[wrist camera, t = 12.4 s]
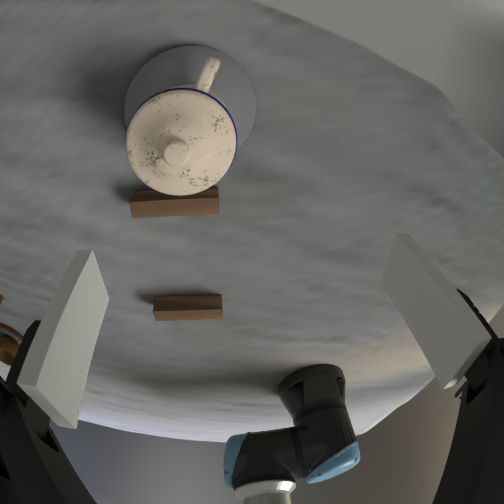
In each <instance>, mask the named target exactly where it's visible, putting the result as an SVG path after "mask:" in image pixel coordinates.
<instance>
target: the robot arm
mask: <svg viewBox="0 0 504 504" xmlns="http://www.w3.org/2000/svg"><path fill="white" fill-rule="evenodd" d="M381 282H382V284H383V286H384V287H385V289H386V290H387V292H388V293H389V295H390V297H391V298H392V300H393V301H394V303H395V305H396V306H397V308H398V310H399V311H400V313H401V315H402V316H403V318H404V320H405V321H406V323H407V325H408V326H409V328H410V330H411V331H412V333H413V335H414V337H415V338H416V340H417V342H418V344H419V345H420V347H421V349H422V351H423V353H424V354H425V356H426V358H427V360H428V362H429V364H430V365H431V367H432V369H433V371H434V373H435V375H436V377H437V379H438V381H439V383H440V385H441V386H442V388H443V389H446V388H448V387H451V386H453V385H455V384H457V383H458V382H459V381H460V379H461V378H462V377H463V376H464V375H465V377H466V379H467V381H466V382H465V383H464V384H463V385H462V387H461V388H460V389H459V390H458V391H457V392H456V394H455V397H457V396H458V395H459V394H460V393H461V392H462V391H463V392H462V396H461V397H460V398H459V399H461V404H460V409H459V414H458V419H457V423H456V428H455V432H454V436H453V440H452V444H451V448H450V452H449V455H448V459H447V462H446V466H445V469H444V472H443V475H442V478H441V481H440V484H439V487H438V490H437V493H436V495H435V498H434V501H433V503H432V504H504V338H500V339H499V338H498V337H497V335H496V334H495V333H494V331H493V330H492V328H491V327H490V325H489V324H488V323H487V321H486V320H485V318H484V317H483V316H482V314H481V313H479V310H478V309H477V308H476V306H475V307H474V304H473V303H472V301H471V300H470V299H469V297H468V296H467V295H465V294H464V293H463V292H462V291H460V290H459V289H456V288H455V287H454V286H453V285H452V283H451V282H450V281H449V280H448V279H447V277H446V276H445V275H444V274H443V272H442V271H441V270H440V269H439V268H438V267H437V265H436V264H435V263H434V262H433V261H432V260H431V258H430V257H429V256H428V255H427V254H426V253H425V252H424V250H423V249H422V248H421V247H420V246H419V245H418V244H417V243H416V241H415V240H414V239H413V238H412V237H411V236H410V235H409V234H408V233H395V234H394V238H393V241H392V245H391V248H390V252H389V255H388V259H387V262H386V265H385V268H384V272H383V275H382V278H381ZM108 302H109V297H108V294H107V291H106V288H105V285H104V283H103V280H102V277H101V274H100V271H99V268H98V265H97V262H96V258H95V255H94V252H93V250H81V251H77V253H76V254H75V256H74V258H73V260H72V261H71V263H70V265H69V267H68V269H67V270H66V272H65V274H64V276H63V278H62V280H61V282H60V284H59V286H58V288H57V290H56V291H55V293H54V295H53V297H52V300H51V302H50V304H49V306H48V308H47V310H46V312H45V314H44V316H43V319H42V321H40V320H35V321H34V322H33V323H32V324H31V326H30V327H29V328H28V329H27V330H26V333H25V335H24V337H23V339H22V343H21V344H20V346H19V348H18V352H17V353H16V356H15V358H14V361H13V363H12V366H11V368H10V371H9V373H8V376H7V379H6V382H5V381H4V380H3V379H2V377H1V376H0V504H97V503H96V502H95V500H94V499H93V498H92V496H91V495H90V493H89V492H88V490H87V489H86V487H85V486H84V484H83V483H82V481H81V480H80V478H79V477H78V475H77V473H76V472H75V470H74V468H73V467H72V465H71V463H70V462H69V460H68V458H67V456H66V455H65V453H64V451H63V449H62V448H61V446H60V444H59V442H58V440H57V438H56V436H55V434H54V432H53V430H52V429H51V428H50V426H49V423H50V419H52V420H53V421H54V422H55V423H56V424H57V425H58V426H62V427H68V428H73V429H76V428H77V422H78V417H79V412H80V407H81V402H82V397H83V393H84V388H85V384H86V380H87V376H88V372H89V368H90V364H91V360H92V356H93V352H94V348H95V345H96V341H97V338H98V334H99V331H100V327H101V324H102V321H103V317H104V314H105V311H106V308H107V305H108ZM279 394H280V398H281V401H282V402H283V404H284V405H285V407H286V409H287V410H288V412H289V413H290V415H291V417H292V418H293V422H294V427H289V428H282V429H276V430H269V431H261V432H253V433H251V432H247V433H246V434H239V435H233V436H231V437H230V438H229V439H228V441H227V442H226V446H225V451H224V480H225V483H226V485H227V486H228V487H230V488H234V494H235V495H236V496H237V497H239V498H240V499H242V500H243V504H291V500H290V493H291V492H292V491H293V489H295V487H296V483H295V479H299V478H305V481H306V482H307V483H315V482H320V481H323V480H326V479H329V478H332V477H334V476H336V475H339V474H341V473H343V472H345V471H347V470H349V469H351V468H352V467H354V466H355V465H356V464H357V463H358V462H359V460H360V452H359V448H358V441H357V440H356V437H355V434H354V431H353V427H352V424H351V421H350V418H349V415H348V412H347V409H346V406H345V377H344V374H343V371H342V370H341V369H340V368H339V367H336V366H333V365H318V366H312V367H308V368H305V369H302V370H300V371H297V372H295V373H293V374H291V375H290V376H288V377H287V378H285V379H284V380H283V381H282V382H281V384H280V385H279Z"/></svg>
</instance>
